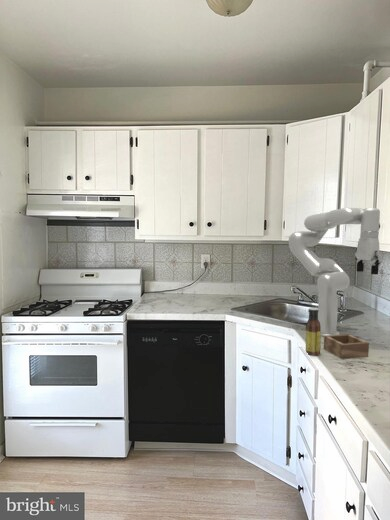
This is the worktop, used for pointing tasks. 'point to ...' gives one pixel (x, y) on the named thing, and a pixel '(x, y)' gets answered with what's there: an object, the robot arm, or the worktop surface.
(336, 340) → the walnut sleeve
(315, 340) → the sauce bottle
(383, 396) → the worktop surface
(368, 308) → the worktop surface
